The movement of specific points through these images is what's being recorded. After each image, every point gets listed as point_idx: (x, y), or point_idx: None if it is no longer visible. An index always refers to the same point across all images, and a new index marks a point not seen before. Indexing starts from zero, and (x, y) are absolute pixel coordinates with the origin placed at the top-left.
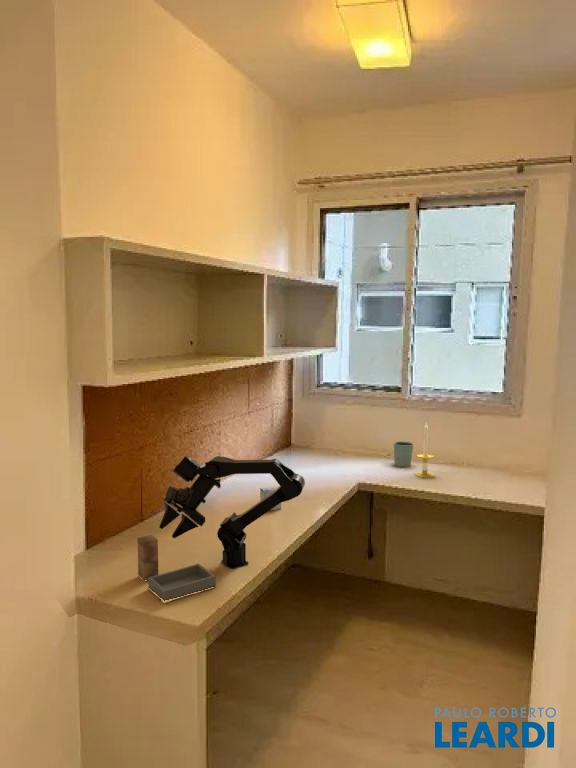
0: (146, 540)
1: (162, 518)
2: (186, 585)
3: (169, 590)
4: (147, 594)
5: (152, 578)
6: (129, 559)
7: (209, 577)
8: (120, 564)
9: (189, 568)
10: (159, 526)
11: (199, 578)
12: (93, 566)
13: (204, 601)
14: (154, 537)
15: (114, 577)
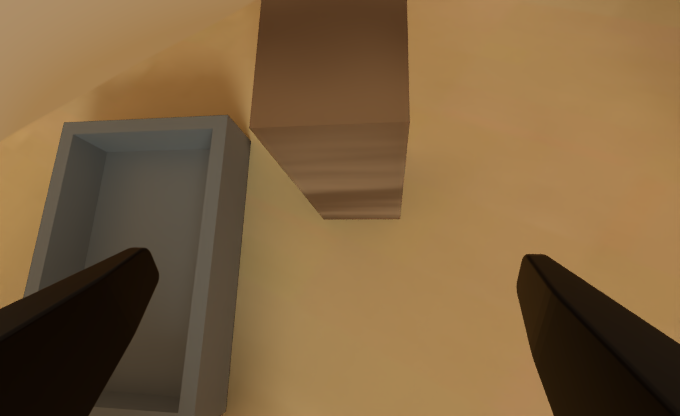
0: (293, 33)
1: (670, 338)
2: (40, 234)
3: (60, 150)
4: None
5: (205, 127)
6: (641, 179)
7: None
8: (593, 119)
9: (189, 351)
10: (539, 255)
11: (154, 375)
12: (637, 9)
13: (8, 286)
14: (317, 120)
15: (452, 58)
